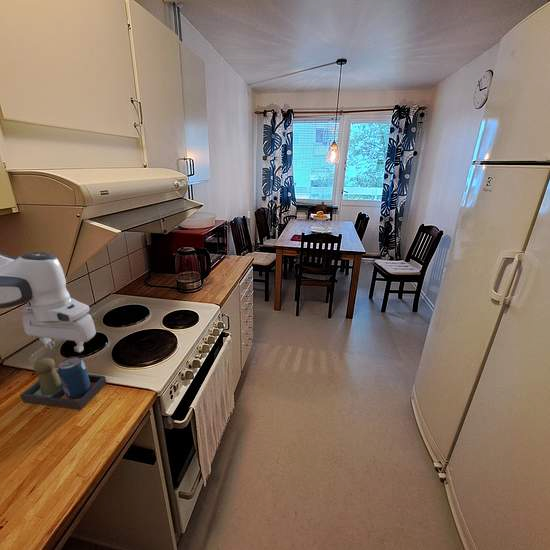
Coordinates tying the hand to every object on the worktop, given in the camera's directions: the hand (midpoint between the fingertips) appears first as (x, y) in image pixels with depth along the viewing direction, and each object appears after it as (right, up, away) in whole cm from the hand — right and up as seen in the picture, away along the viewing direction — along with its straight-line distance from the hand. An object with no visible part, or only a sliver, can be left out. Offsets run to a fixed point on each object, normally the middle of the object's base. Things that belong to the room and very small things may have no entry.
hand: (65, 349), depth 85 cm
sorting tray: (-5, -16, +7) cm, 18 cm away
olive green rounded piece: (-10, -15, +8) cm, 20 cm away
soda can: (0, -16, +7) cm, 17 cm away
